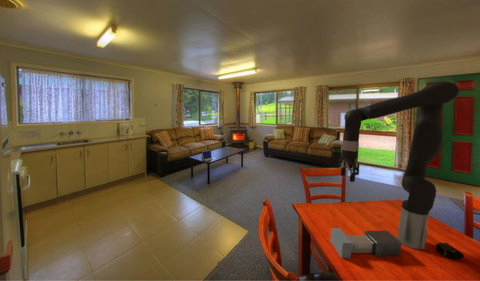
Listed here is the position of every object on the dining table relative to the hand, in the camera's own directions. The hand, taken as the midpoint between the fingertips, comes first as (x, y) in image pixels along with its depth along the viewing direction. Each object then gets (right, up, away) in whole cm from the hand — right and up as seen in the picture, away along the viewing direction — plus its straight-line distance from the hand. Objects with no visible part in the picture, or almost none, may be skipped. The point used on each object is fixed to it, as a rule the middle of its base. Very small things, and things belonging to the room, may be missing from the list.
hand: (347, 178), depth 95 cm
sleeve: (+8, -30, -13) cm, 34 cm away
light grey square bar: (-3, -31, -12) cm, 33 cm away
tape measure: (+36, -31, -15) cm, 50 cm away
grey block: (-11, -31, -12) cm, 35 cm away
